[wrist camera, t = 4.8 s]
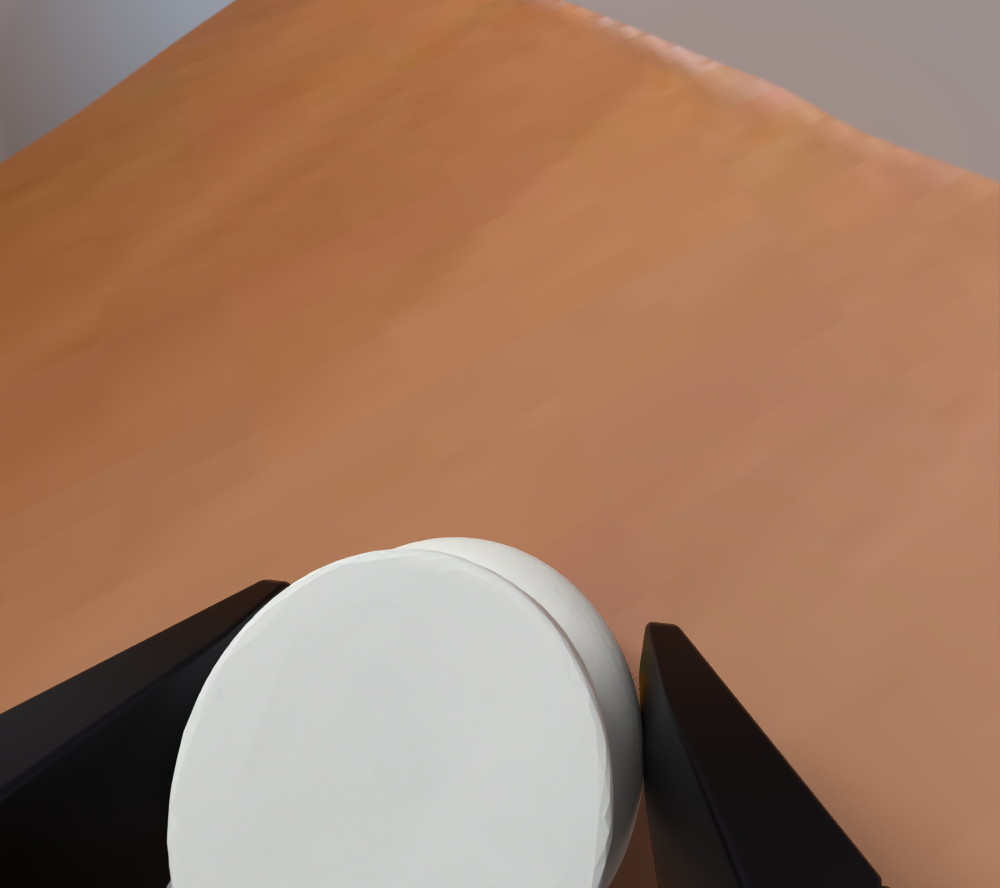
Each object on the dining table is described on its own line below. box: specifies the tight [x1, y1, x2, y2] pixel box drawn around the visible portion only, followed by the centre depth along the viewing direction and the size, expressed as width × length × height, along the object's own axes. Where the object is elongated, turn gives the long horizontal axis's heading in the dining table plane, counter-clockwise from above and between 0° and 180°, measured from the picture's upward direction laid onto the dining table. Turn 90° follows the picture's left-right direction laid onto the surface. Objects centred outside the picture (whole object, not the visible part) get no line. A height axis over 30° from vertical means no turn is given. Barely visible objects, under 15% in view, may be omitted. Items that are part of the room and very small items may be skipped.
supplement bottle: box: [167, 537, 643, 888], centre depth 9 cm, size 5×5×10 cm
